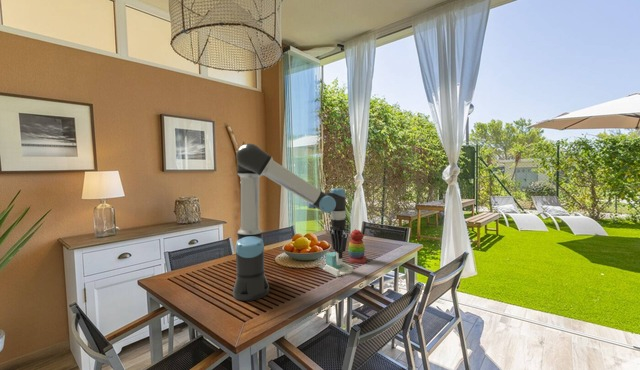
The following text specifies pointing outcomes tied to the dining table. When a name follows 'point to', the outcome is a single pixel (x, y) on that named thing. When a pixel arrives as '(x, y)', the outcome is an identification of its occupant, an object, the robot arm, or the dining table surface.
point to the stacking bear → (357, 248)
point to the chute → (340, 271)
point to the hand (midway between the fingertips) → (339, 264)
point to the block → (332, 260)
